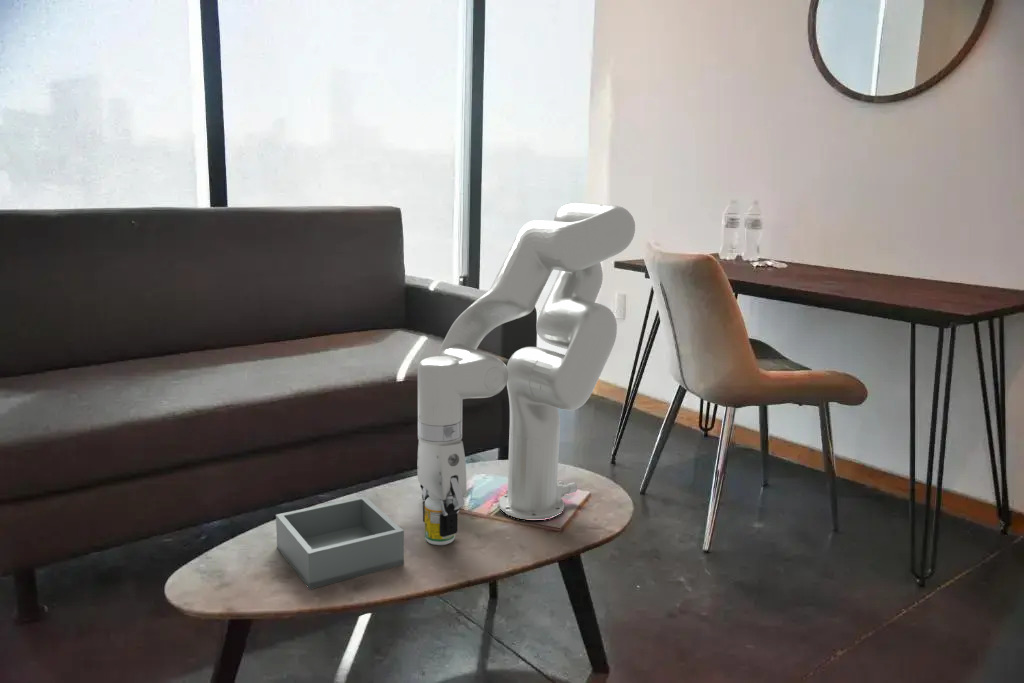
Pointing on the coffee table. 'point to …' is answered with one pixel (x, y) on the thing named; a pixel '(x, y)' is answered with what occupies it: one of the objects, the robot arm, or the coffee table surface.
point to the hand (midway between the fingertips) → (440, 526)
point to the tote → (339, 541)
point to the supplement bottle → (435, 521)
